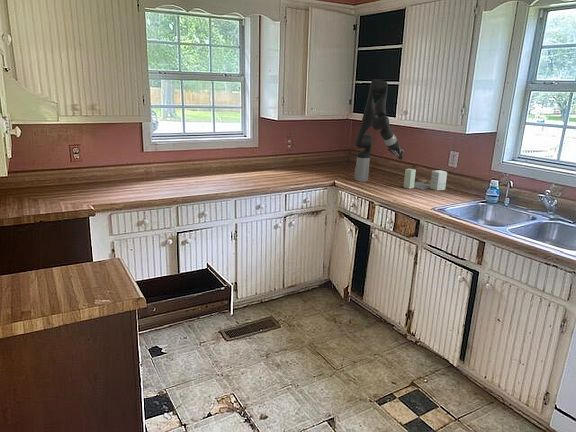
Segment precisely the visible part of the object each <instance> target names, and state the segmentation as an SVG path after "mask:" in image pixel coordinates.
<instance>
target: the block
mask: <svg viewBox="0 0 576 432" xmlns="http://www.w3.org/2000/svg"><path fill="white" fill-rule="evenodd" d="M416 171H417V170H416V169H415V168H406V169H405V171H404V179H403V184H404V185H403V188H404V189H408V190H411V189H415V188H414V183H415V180H416Z"/></svg>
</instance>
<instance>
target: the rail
mask: <svg viewBox="0 0 576 432" xmlns="http://www.w3.org/2000/svg"><path fill="white" fill-rule="evenodd" d="M417 182H420V183H425V184H429V185H431V180H426V179H421V178H418V180H417Z"/></svg>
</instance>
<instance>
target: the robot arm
mask: <svg viewBox="0 0 576 432" xmlns="http://www.w3.org/2000/svg"><path fill="white" fill-rule="evenodd" d="M388 85H389V84H388V82H387V81H386V80H380V79H376V78H375V79H372V80H371V82H370V85H369V90H368V95H367V101H366V103H365V108H364V111H363V115H362V118H361V123H360V126H359V130H358V133H357V135H356V140H355V147H357V148H358V149H363V150H362V151H360V152H357V154H356V164H355V165H356V166H355V167H354V178H353V179H354V181H356V182H360V183H361V182H363V183H365V182H368V181H369V171H370V161H371V154H372V145H373V138H372V136H371V135H370V134H366V133H367V131H368V130H369V129H370V128H371V127H372V128H373V130H375V131H378V130H380V131H379V133H380V137H381V138H382V139H383V141H384V143H385V145H386V147H387V151H388V152H390V154H392V155H394V156H396V157H397V159H399V160H402V159H403V155H404V152H405V151H406V150H405V149H404V148H403V149H402V148H401V146H400V142H399V140H398V138H397V136H396V135H395V134H394V132H393V130H392V128H391V124H390V120H389V116H387V115H386V114H387V107H386V106H387V97H388V89H389V87H388ZM374 95H378V96H379V95H380V97H379V99H378V100H377V101H376V102H375V99H374Z"/></svg>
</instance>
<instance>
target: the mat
mask: <svg viewBox="0 0 576 432" xmlns="http://www.w3.org/2000/svg"><path fill="white" fill-rule="evenodd" d="M403 186H404V183H403ZM413 189H418V190H419V189H420V190H427V189H431V188H430V185H429V184H425V183H420V182H418V181H416V182H414V188H413Z"/></svg>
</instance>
